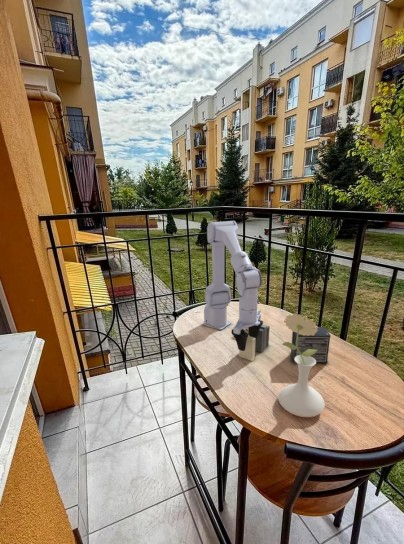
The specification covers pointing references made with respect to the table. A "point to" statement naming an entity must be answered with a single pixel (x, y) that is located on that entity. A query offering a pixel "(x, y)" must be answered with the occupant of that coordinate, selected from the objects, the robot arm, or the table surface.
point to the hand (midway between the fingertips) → (247, 345)
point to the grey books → (262, 339)
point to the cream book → (248, 349)
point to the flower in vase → (301, 374)
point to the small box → (313, 345)
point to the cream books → (257, 312)
